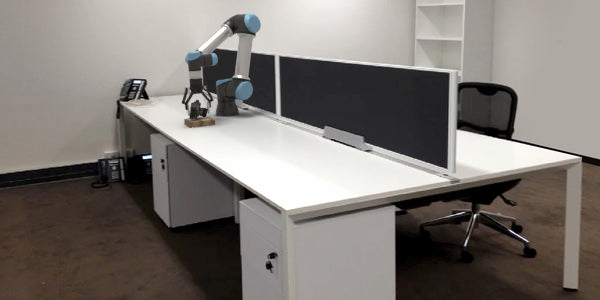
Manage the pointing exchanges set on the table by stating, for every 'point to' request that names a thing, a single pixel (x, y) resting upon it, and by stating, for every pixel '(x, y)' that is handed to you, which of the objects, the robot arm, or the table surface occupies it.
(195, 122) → the plinth
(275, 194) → the table surface
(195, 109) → the camera
